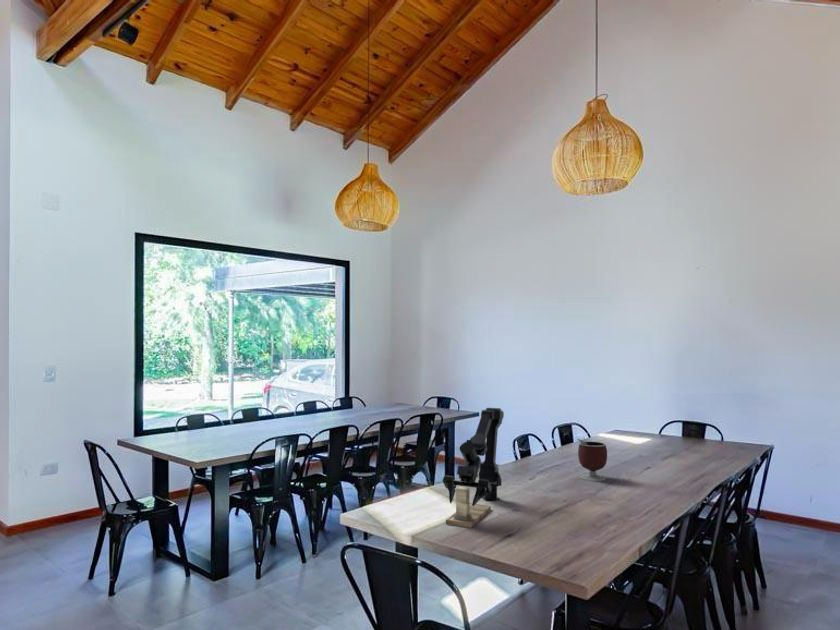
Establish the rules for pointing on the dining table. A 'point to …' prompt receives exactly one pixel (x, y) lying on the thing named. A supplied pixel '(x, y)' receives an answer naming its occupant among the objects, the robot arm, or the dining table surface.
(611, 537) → the dining table surface
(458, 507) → the tall beige pillar block
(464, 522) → the walnut board
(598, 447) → the mate gourd
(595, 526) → the dining table surface
